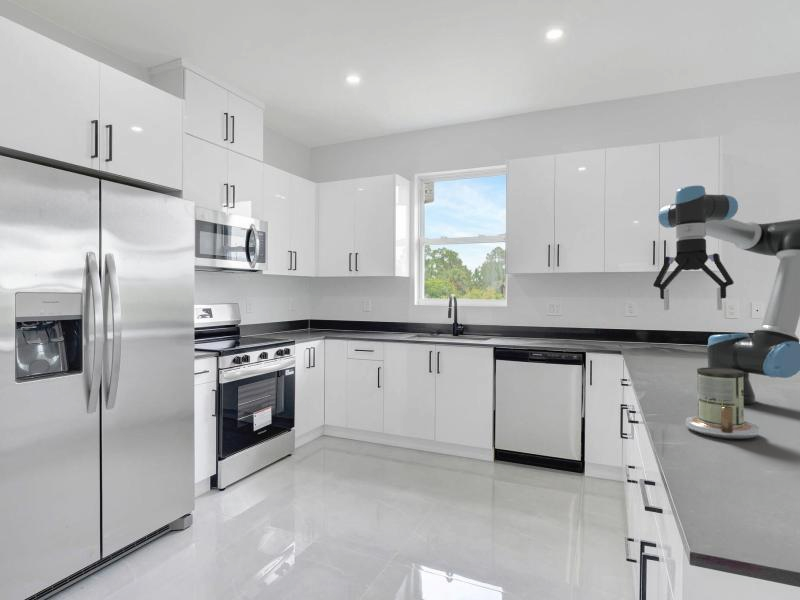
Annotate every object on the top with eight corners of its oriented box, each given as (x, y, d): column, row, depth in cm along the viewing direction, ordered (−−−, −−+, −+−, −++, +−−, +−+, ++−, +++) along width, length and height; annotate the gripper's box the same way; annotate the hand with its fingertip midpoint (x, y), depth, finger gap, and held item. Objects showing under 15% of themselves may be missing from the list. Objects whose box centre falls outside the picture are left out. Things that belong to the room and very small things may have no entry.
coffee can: (692, 416, 130) (692, 366, 130) (736, 419, 126) (736, 368, 126) (703, 426, 120) (702, 372, 120) (750, 429, 117) (750, 374, 117)
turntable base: (700, 423, 132) (700, 421, 132) (752, 432, 123) (752, 429, 123) (689, 433, 123) (689, 430, 123) (744, 442, 115) (744, 439, 115)
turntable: (682, 418, 134) (682, 392, 134) (750, 424, 127) (750, 397, 127) (690, 434, 118) (690, 405, 118) (767, 442, 112) (767, 411, 112)
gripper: (641, 242, 144) (643, 310, 144) (740, 233, 127) (742, 310, 127) (648, 243, 149) (649, 309, 149) (744, 235, 132) (745, 309, 133)
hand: (692, 310), depth 138 cm, fingers open, 13 cm apart
